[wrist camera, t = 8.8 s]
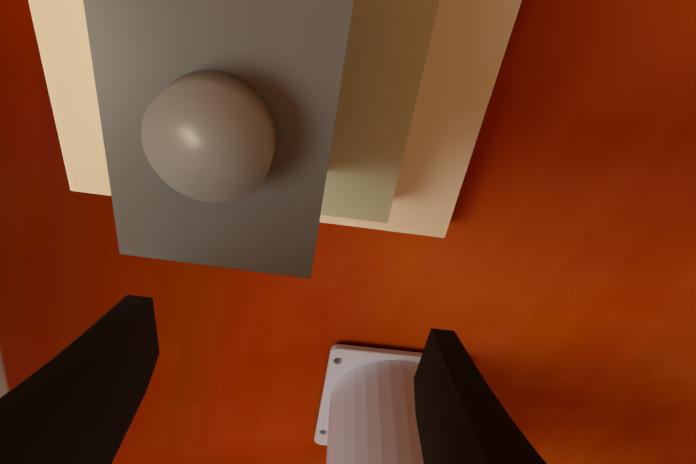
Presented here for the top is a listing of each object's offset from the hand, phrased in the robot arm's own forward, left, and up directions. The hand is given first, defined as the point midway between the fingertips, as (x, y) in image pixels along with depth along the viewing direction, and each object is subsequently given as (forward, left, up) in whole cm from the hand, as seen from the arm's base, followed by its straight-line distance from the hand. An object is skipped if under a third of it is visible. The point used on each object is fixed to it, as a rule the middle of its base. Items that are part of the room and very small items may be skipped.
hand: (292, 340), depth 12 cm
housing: (+5, +2, -6) cm, 9 cm away
